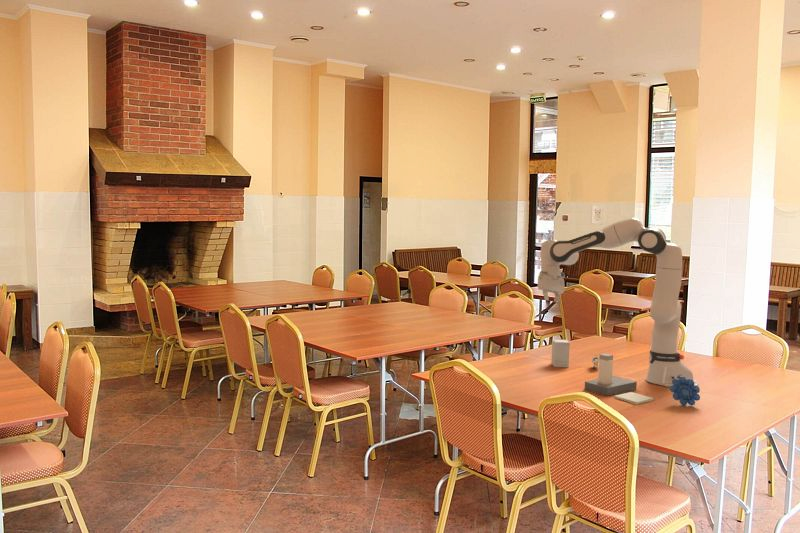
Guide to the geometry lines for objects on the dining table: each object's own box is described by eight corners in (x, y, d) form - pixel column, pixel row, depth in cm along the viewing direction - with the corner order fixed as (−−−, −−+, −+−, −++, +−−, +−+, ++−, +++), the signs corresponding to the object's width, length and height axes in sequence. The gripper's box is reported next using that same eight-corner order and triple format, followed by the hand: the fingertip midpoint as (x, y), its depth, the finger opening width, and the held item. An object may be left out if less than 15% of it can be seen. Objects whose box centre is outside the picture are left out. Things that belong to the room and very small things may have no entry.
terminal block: (613, 383, 310) (614, 375, 309) (636, 389, 300) (636, 381, 299) (584, 389, 298) (584, 381, 298) (606, 396, 288) (607, 388, 288)
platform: (608, 366, 343) (609, 353, 343) (607, 374, 326) (608, 361, 326) (583, 364, 347) (584, 351, 346) (582, 372, 330) (582, 359, 329)
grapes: (669, 406, 275) (670, 377, 274) (668, 402, 281) (670, 373, 280) (700, 410, 271) (702, 380, 270) (699, 405, 278) (700, 376, 276)
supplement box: (569, 367, 338) (570, 342, 336) (554, 367, 338) (555, 342, 337) (565, 364, 345) (566, 339, 344) (551, 363, 345) (552, 339, 344)
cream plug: (603, 389, 299) (605, 353, 298) (611, 391, 296) (613, 355, 295) (597, 390, 297) (599, 354, 296) (605, 392, 294) (607, 356, 292)
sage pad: (630, 394, 292) (630, 391, 292) (653, 400, 283) (653, 398, 283) (614, 398, 286) (614, 395, 286) (636, 404, 277) (636, 402, 277)
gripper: (545, 269, 322) (546, 298, 320) (566, 275, 337) (567, 302, 335) (533, 270, 326) (534, 299, 324) (554, 276, 341) (556, 303, 339)
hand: (551, 301), depth 329 cm, fingers open, 8 cm apart
